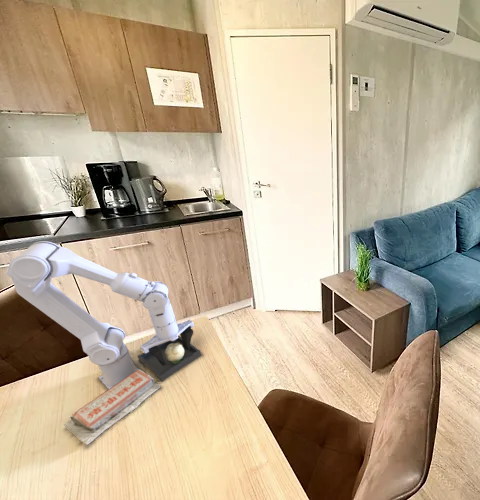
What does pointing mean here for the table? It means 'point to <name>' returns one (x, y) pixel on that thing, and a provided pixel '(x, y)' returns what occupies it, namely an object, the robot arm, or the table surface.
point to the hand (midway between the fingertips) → (175, 355)
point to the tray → (169, 367)
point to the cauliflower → (174, 352)
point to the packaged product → (111, 406)
